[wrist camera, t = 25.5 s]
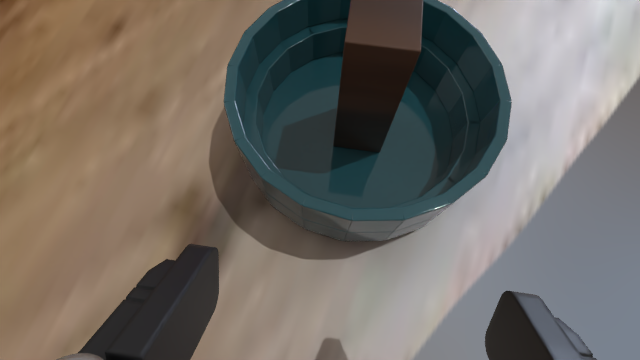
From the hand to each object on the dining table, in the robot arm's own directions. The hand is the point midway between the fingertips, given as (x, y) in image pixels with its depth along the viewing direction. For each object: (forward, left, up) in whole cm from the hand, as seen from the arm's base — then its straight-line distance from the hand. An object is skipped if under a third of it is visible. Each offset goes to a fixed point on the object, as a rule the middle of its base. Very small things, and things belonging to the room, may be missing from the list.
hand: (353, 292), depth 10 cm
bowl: (+5, +10, -10) cm, 15 cm away
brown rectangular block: (+5, +9, -9) cm, 14 cm away
